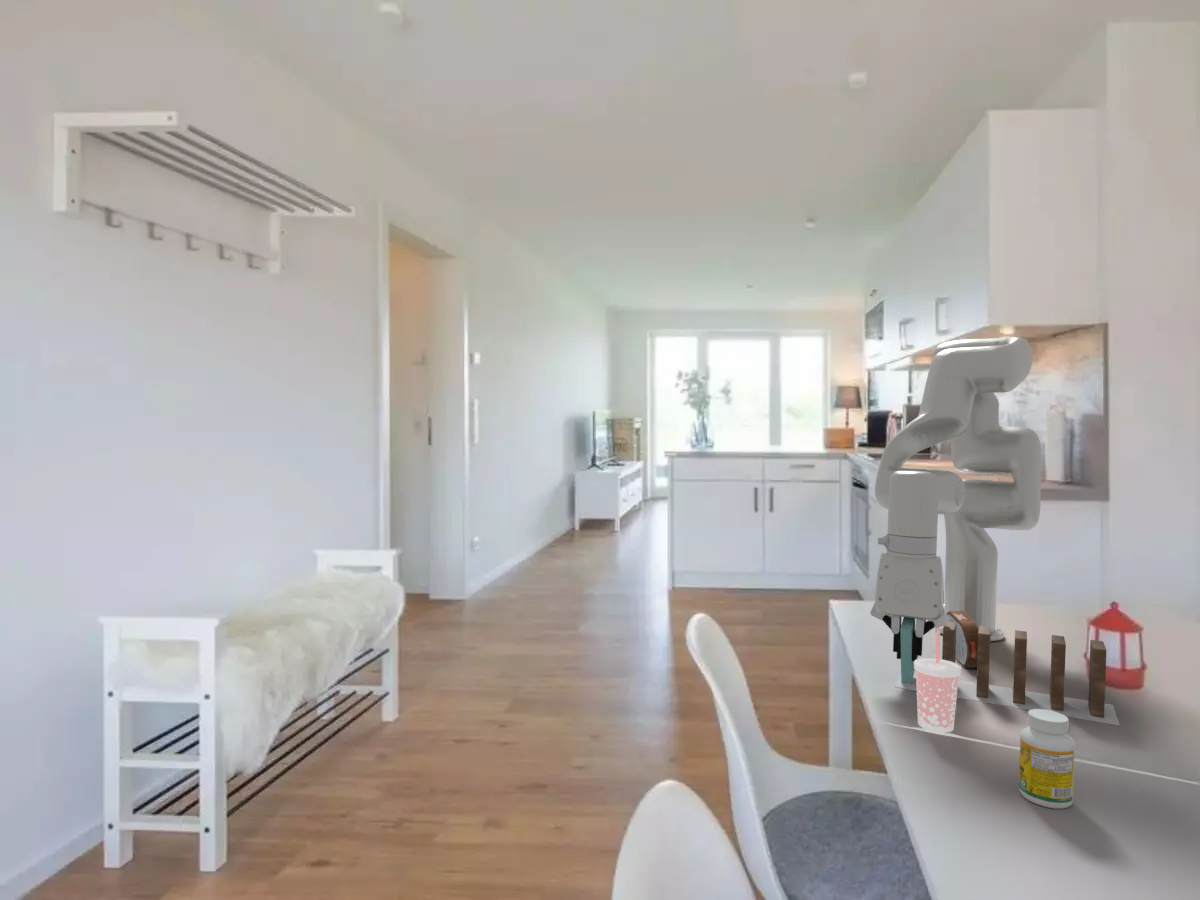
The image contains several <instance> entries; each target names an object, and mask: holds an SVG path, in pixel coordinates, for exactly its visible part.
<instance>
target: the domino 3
mask: <svg viewBox="0 0 1200 900" xmlns="http://www.w3.org/2000/svg"><path fill="white" fill-rule="evenodd" d="M990 638H991V627H986V626H979V631H978V655H977V668H976V683H977V689H976V697H982V698H988V693H989V685H990V671H991V670H990V668H991V667H990V666H991V665H990V664H991V641H990Z"/></svg>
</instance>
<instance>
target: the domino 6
mask: <svg viewBox="0 0 1200 900" xmlns="http://www.w3.org/2000/svg"><path fill="white" fill-rule="evenodd" d="M1089 641H1090V645H1089V672H1088V697H1087V701H1088V706H1089V710H1090V714H1091V716H1095V717H1101V718H1104V705H1105V704H1106V703H1105V701H1106V698H1105V697H1106V678H1107V677H1106V675H1107V674H1106V673H1107V672H1106V671H1107V670H1106V669H1107V647H1106V645H1105V643H1104V641H1103V640H1095V639H1090V640H1089Z"/></svg>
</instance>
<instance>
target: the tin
mask: <svg viewBox="0 0 1200 900" xmlns="http://www.w3.org/2000/svg"><path fill="white" fill-rule="evenodd" d="M946 615H947V618H948V620H949V622H954V623H956V656H955V661H957V662H958V664H960V666H961V667H963V668H965V669H977V655H978V631H979V628H978V626H977V624H976V622H975V621H974V620H973V619H972V618H971V617H970V616H968V615H967V614H966V613H965V612H964V611H963V610H961V611H949V612H948V613H947V614H946Z"/></svg>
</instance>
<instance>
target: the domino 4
mask: <svg viewBox="0 0 1200 900" xmlns="http://www.w3.org/2000/svg"><path fill="white" fill-rule="evenodd" d="M1027 647H1028V633H1027V631H1025V630H1024V631H1023V630H1017V629H1015V631H1014V651H1013V653H1014V655H1013V656H1014V657H1013V658H1014V659H1013V686H1012V687H1013V688H1012V689H1013V703H1018V704H1024V705H1025V691H1026V683H1027V679H1026V678H1027V650H1028V648H1027Z"/></svg>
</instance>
